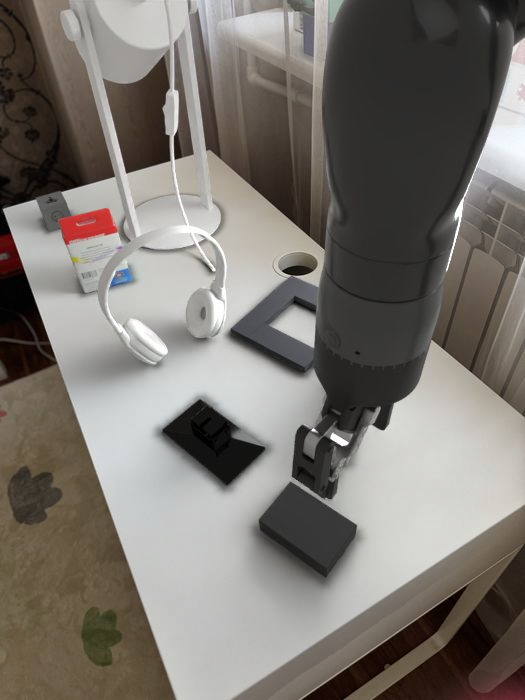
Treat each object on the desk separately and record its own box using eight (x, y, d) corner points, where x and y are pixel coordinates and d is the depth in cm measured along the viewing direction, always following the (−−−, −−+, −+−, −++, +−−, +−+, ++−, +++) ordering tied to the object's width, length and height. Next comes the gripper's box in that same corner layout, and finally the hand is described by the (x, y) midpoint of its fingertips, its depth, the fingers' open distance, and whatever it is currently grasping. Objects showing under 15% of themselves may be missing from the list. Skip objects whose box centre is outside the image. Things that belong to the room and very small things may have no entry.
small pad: (290, 492, 64) (290, 480, 62) (355, 535, 60) (357, 524, 58) (259, 530, 61) (258, 519, 59) (325, 578, 57) (326, 569, 55)
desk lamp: (187, 180, 118) (146, -79, 86) (271, 246, 99) (258, -54, 67) (98, 212, 110) (16, -59, 78) (171, 291, 91) (102, -25, 59)
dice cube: (49, 231, 106) (40, 209, 103) (44, 219, 109) (35, 197, 106) (74, 224, 108) (66, 201, 104) (68, 212, 111) (60, 190, 107)
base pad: (362, 312, 85) (363, 306, 84) (304, 373, 77) (304, 367, 76) (291, 280, 92) (291, 275, 91) (231, 334, 83) (230, 328, 82)
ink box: (127, 266, 97) (106, 193, 86) (132, 281, 94) (111, 207, 83) (79, 278, 95) (52, 205, 85) (83, 294, 92) (55, 220, 81)
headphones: (114, 356, 81) (75, 246, 67) (219, 308, 88) (203, 199, 73) (133, 385, 77) (95, 275, 62) (242, 333, 83) (230, 222, 69)
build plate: (161, 432, 71) (154, 410, 68) (201, 399, 75) (197, 377, 71) (227, 486, 65) (223, 465, 62) (267, 447, 68) (265, 426, 65)
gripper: (367, 420, 29) (342, 545, 41) (475, 285, 37) (428, 423, 48) (260, 359, 32) (265, 490, 44) (379, 246, 40) (356, 384, 52)
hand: (350, 455), depth 46 cm, fingers open, 8 cm apart
